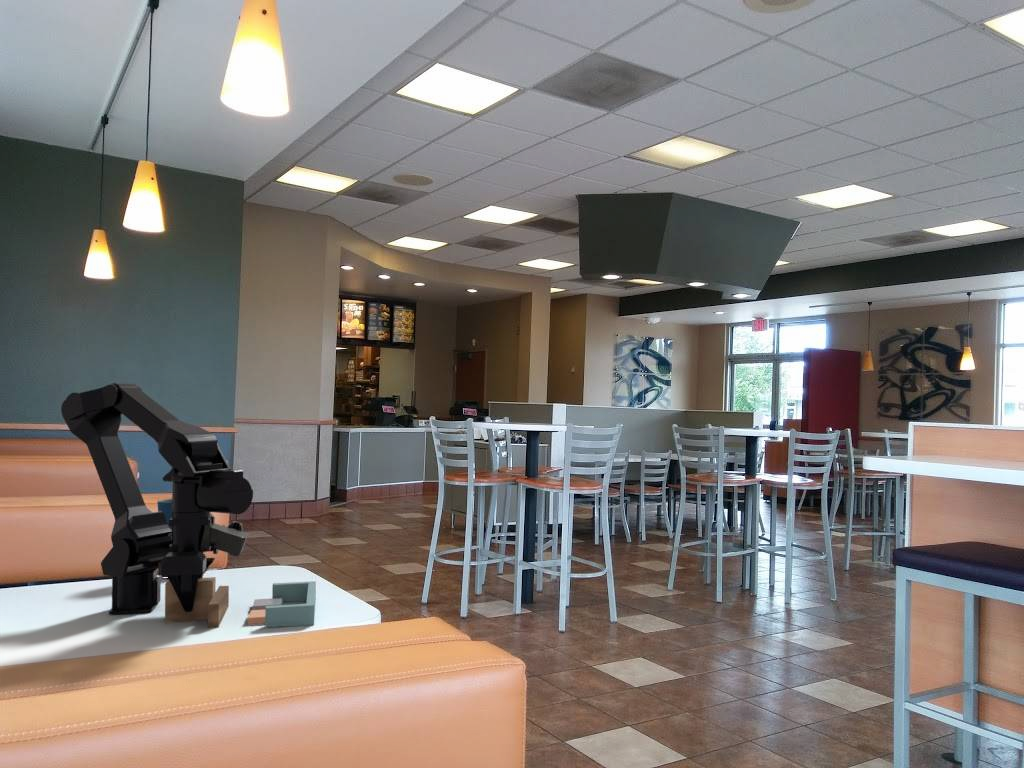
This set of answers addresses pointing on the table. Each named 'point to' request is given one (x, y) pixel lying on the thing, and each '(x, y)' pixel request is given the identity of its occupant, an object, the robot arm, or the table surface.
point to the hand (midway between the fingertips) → (190, 608)
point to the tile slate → (266, 603)
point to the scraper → (198, 603)
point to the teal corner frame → (292, 613)
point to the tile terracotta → (256, 617)
